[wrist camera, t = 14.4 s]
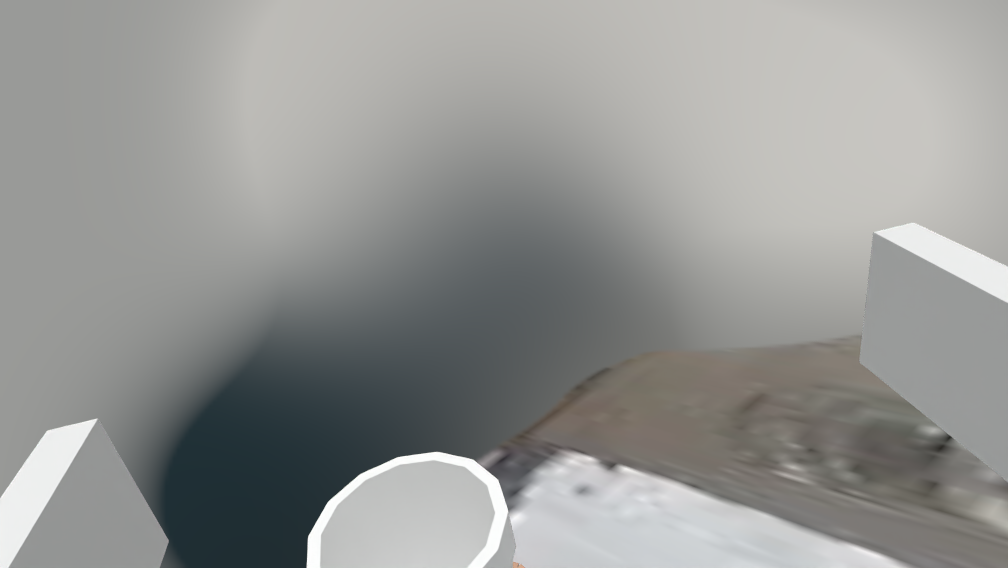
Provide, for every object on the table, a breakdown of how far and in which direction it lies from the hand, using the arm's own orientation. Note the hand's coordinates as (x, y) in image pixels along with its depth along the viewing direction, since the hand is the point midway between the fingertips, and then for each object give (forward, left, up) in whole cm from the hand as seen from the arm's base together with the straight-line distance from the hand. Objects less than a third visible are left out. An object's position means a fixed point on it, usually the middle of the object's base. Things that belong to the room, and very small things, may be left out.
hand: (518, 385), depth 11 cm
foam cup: (+5, -14, -29) cm, 33 cm away
